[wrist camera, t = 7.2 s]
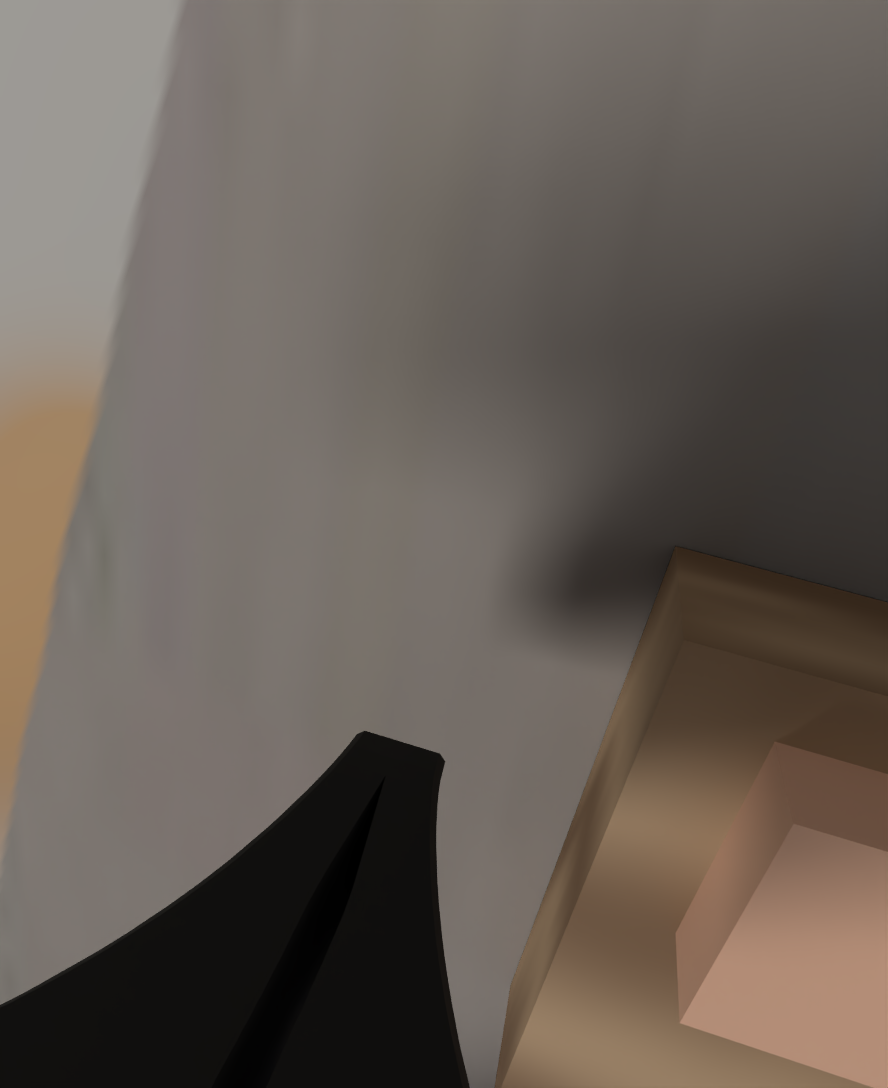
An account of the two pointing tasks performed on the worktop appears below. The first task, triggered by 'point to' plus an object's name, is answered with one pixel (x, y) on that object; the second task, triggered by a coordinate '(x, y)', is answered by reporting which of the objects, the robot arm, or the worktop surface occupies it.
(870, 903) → the terracotta tile
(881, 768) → the walnut board
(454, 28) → the worktop surface
